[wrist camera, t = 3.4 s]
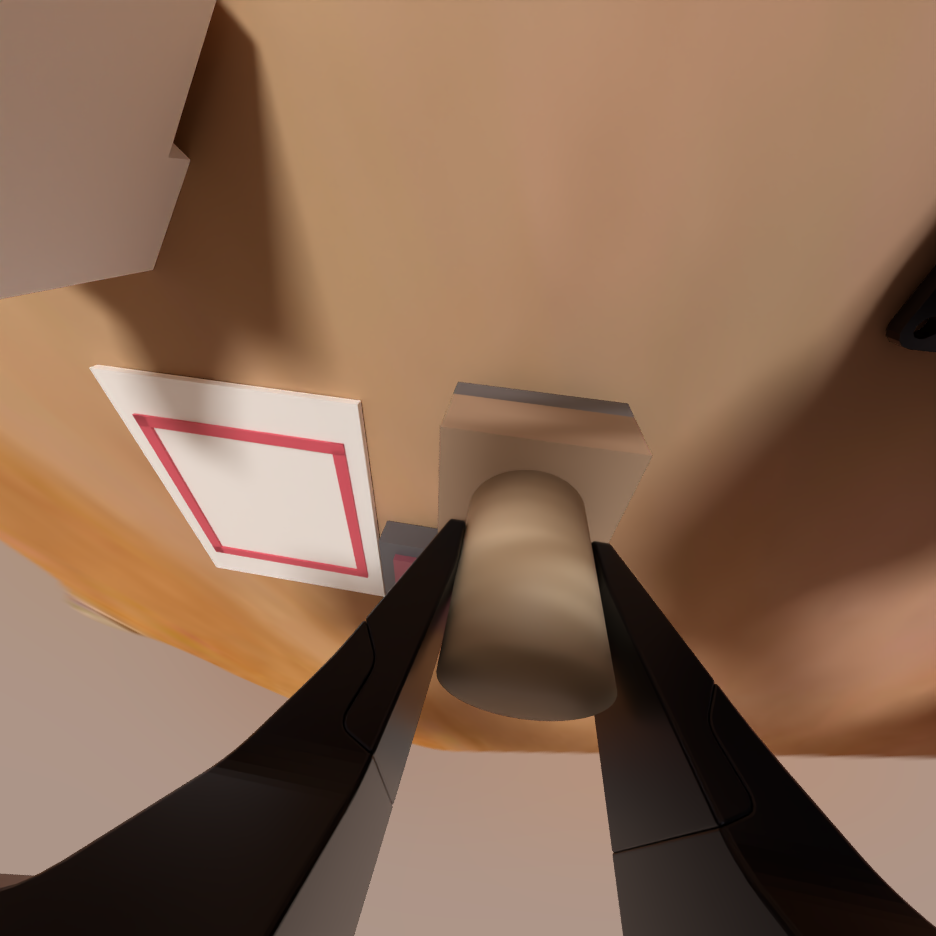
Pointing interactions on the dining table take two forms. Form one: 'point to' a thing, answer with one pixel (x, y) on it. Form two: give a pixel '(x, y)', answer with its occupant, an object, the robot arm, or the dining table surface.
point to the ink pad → (401, 548)
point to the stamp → (532, 546)
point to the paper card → (260, 474)
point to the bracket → (91, 135)
